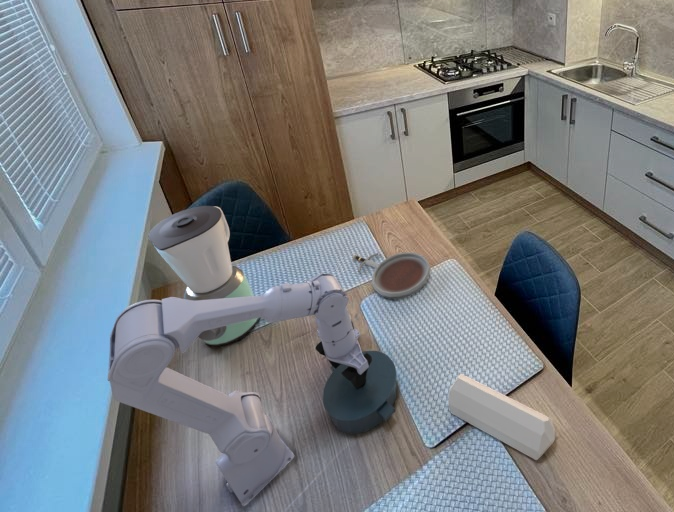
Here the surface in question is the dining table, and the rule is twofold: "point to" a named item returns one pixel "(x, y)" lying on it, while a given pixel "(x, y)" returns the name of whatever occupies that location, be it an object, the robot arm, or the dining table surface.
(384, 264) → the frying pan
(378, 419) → the pot
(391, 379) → the lid
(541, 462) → the dining table surface
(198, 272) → the blender
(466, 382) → the beveled cream prism
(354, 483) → the dining table surface
